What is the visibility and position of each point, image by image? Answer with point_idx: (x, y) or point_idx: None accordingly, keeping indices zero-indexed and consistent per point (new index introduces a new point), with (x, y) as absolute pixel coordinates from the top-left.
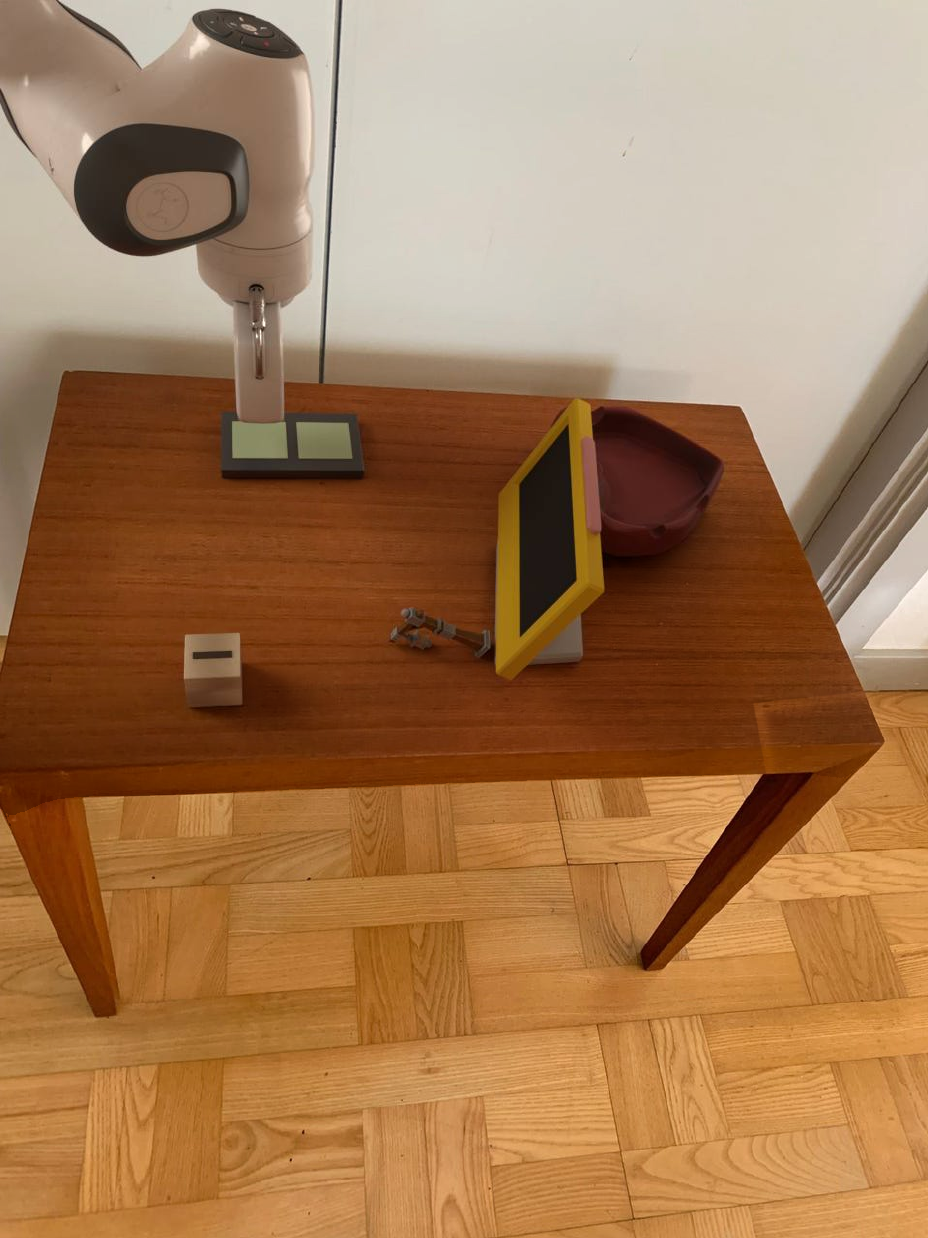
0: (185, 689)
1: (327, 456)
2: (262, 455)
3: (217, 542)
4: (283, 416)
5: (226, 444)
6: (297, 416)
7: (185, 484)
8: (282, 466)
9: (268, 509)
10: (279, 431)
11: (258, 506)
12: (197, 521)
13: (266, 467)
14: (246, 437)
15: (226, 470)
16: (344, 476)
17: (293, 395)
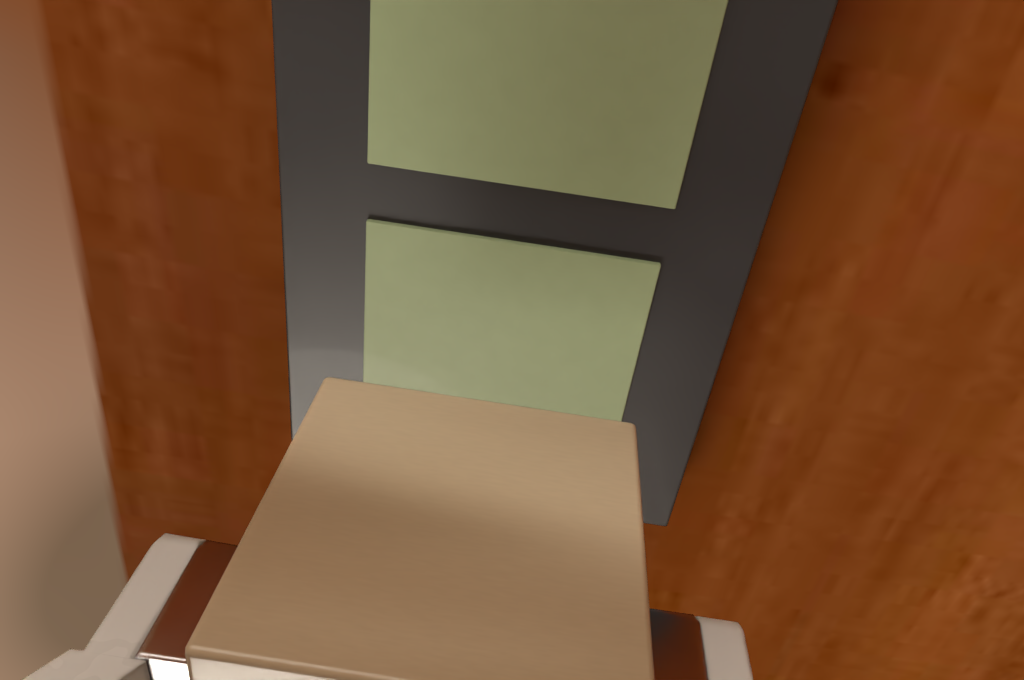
0: None
1: (700, 30)
2: (616, 375)
3: (1006, 558)
4: (637, 457)
5: None
6: (312, 143)
7: (665, 592)
8: (712, 299)
9: (913, 370)
10: (444, 266)
11: (877, 403)
12: (867, 591)
13: (699, 369)
14: None
15: (671, 510)
16: None
17: (85, 97)
